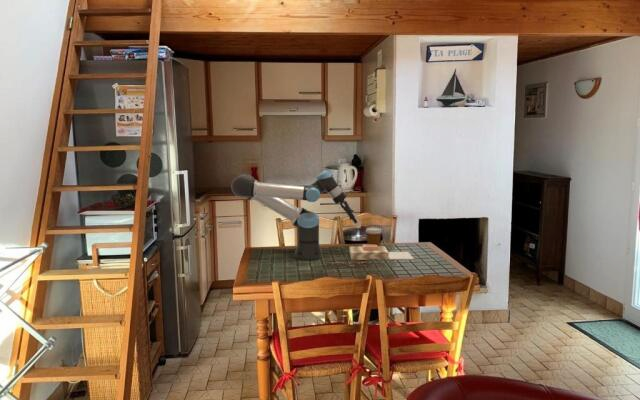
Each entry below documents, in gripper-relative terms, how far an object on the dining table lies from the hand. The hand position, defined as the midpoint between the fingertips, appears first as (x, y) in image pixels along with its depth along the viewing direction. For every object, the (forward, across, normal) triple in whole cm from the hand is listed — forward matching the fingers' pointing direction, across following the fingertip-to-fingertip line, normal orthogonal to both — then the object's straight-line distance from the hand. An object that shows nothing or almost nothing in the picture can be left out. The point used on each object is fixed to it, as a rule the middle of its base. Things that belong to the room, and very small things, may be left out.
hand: (358, 224), depth 276 cm
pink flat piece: (+12, -13, +2) cm, 18 cm away
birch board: (+15, -13, +5) cm, 21 cm away
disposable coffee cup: (+18, +4, +2) cm, 18 cm away
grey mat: (+25, -13, -9) cm, 29 cm away
